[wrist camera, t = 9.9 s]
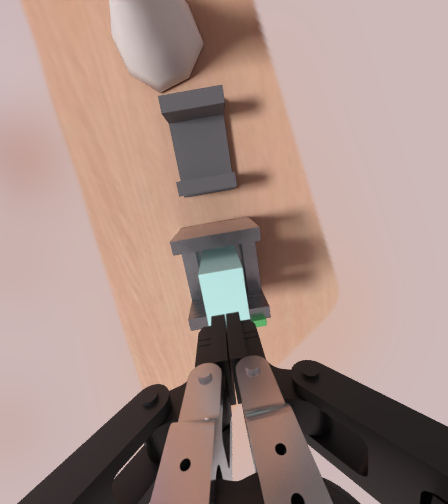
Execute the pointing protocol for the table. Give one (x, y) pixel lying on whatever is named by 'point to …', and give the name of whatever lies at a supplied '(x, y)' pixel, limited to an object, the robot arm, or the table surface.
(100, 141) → the table surface
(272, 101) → the table surface
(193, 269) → the port
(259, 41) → the table surface
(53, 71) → the table surface
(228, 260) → the plug
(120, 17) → the flask
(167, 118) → the grey ridged tray
